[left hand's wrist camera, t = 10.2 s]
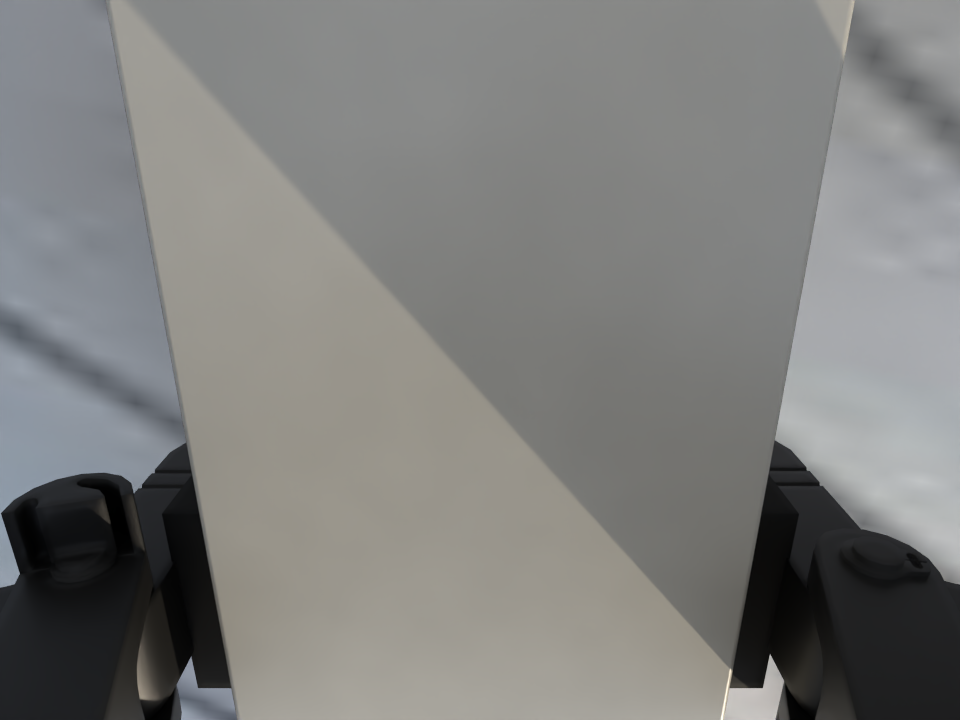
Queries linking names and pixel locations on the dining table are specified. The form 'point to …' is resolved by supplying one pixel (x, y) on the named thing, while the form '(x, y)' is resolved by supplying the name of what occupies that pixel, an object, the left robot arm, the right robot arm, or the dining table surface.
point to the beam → (480, 334)
